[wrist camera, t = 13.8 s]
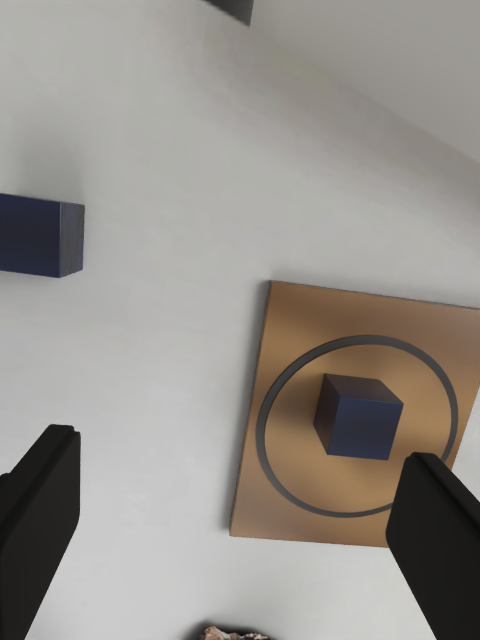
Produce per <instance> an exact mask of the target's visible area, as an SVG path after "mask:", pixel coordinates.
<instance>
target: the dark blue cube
mask: <svg viewBox="0 0 480 640" xmlns="http://www.w3.org/2000/svg"><path fill="white" fill-rule="evenodd" d="M403 406H404V403H403V402H402V401H401V400H400V399H399V398H398V397H397V396H396V395H395V394H394V393H393V392H392V391H391V390H390V389H389V388H388V387H387V386H386V385H385V384H384V383H383V382H382V381H381V380H379V379H370V378H361V377H353V376H344V375H335V374H327V373H324V377H323V381H322V386H321V391H320V395H319V400H318V404H317V409H316V414H315V418H314V423H313V426H314V428H315V430H316V432H317V435H318V437H319V439H320V441H321V443H322V446H323V448H324V450H325V452H326V454H327V455H333V456H343V457H354V458H364V459H375V460H385V461H388V459H389V456H390V452H391V449H392V445H393V442H394V438H395V434H396V431H397V427H398V424H399V420H400V417H401V413H402V410H403Z"/></svg>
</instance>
